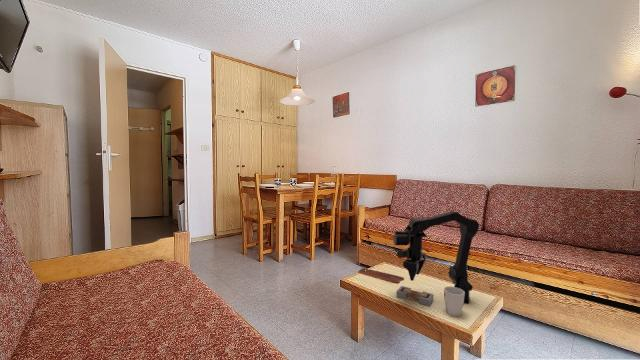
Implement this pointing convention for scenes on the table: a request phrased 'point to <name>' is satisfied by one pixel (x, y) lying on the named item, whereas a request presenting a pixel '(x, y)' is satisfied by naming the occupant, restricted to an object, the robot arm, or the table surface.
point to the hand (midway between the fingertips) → (414, 277)
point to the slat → (414, 294)
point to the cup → (453, 300)
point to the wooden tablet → (381, 275)
